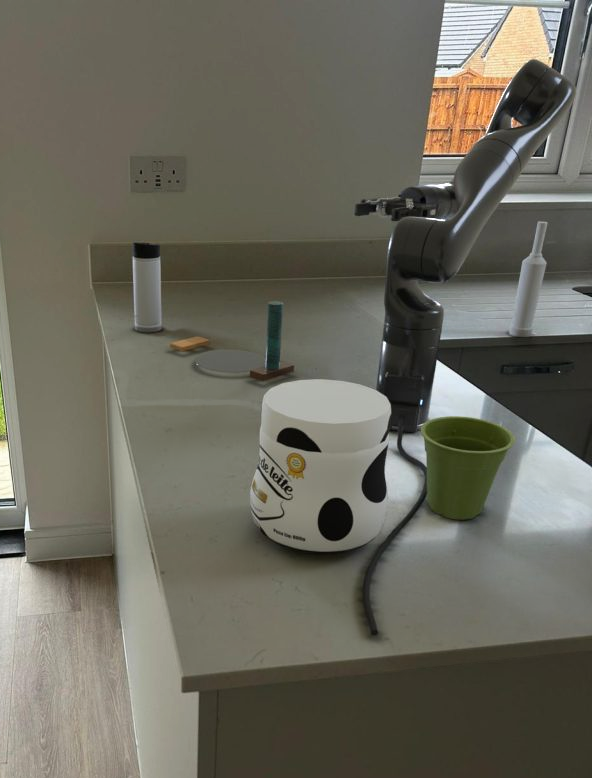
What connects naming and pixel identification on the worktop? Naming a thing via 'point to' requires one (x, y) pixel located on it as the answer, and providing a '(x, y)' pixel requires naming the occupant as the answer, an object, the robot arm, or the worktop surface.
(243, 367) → the turntable plate
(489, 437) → the plant pot
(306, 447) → the milk container
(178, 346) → the block
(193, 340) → the crust
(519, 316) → the bottle
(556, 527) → the worktop surface
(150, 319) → the travel mug
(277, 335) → the peg on stand
